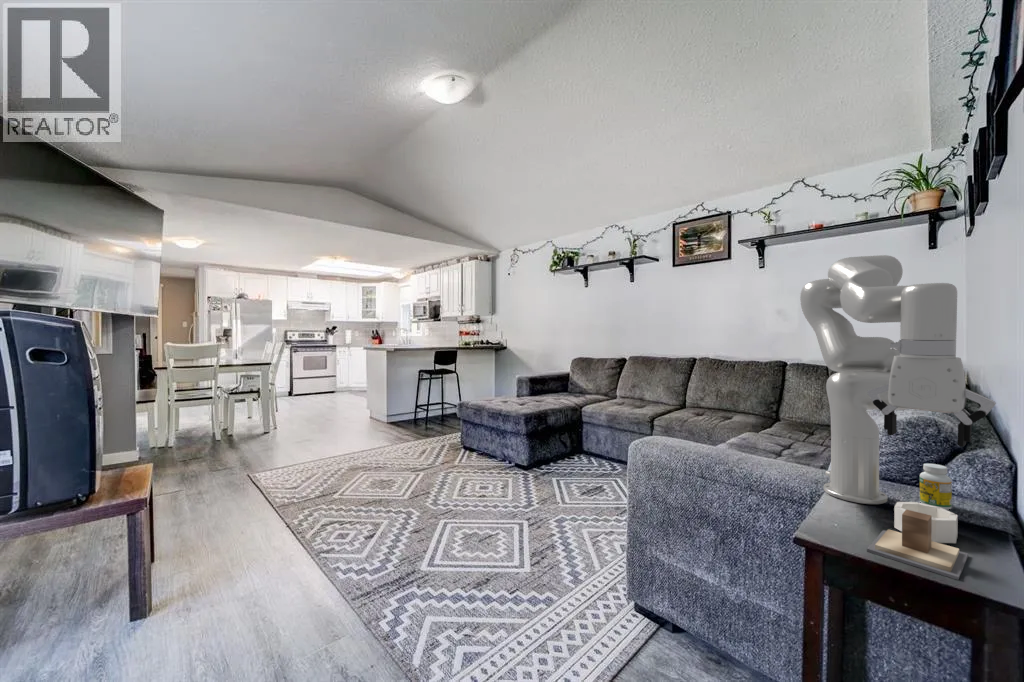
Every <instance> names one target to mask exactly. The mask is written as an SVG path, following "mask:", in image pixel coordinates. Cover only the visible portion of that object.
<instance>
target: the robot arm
mask: <svg viewBox="0 0 1024 682" xmlns="http://www.w3.org/2000/svg"><path fill="white" fill-rule="evenodd" d="M903 271H904V270H903V266H902V263H901V262H900V260H899V259H897V258H896V257H895V256H892V255H887V254H885V255H884V254H882V255H878V254H877V255H863V256H849V257H844V258H840V259H838V260H836V261H835V262H834V263H832V264H831V266H830V267H829V268H828V271H827V278H823V279H822V278H821V279H815V280H812V281H809V282H807V283H806V284H805V285H803V286H802V288H801V291H800V296H799V299H800V307H801V310H802V312H803V313H802V314H803V315H804V317H805V319H806V321H807V322H808V324H809V325H810V326H811V328H812V329H813V331H814V333H815V335H816V336H815V337H816V340H817V342H818V346H819V349H820V352H821V355H822V358H823V361H824V363H825V366H826V367H827V368H828V369H829V370H830V371H832V372H835V373H833V374H831V375H830V376H829V377H828V378H827V379H826V385H825V390H826V395H827V399H828V404H829V413H830V414H829V415H830V439H831V440H830V470H826V471H825V475H826V476H827V477H829V482H825V483H824V484H823V491H824V492H825V493H826V494H828V495H830V496H832V497H834V498H837V499H841V500H844V501H848V502H852V503H858V504H866V505H882V504H885V503H887V502H888V495H887V494H886V493H885V492H884V491H881V490H880V429H879V426H878V424H877V422H876V421H875V420H874V419H873V418H872V417H871V415H870V414H869V413H868V412H867V410H868V411H869V410H878V411H880V412H881V413H882V414H883V429H884V430H886V434H887V435H888V436H893V435H895V434H897V419H898V418H897V413H895V411H904V410H918V411H926V412H935V413H943V414H944V413H945V414H953V415H954V416H955V417H956V418H957V419H958V420H959V421H960V422H959V423H958V424H957V446H959V447H965V446H966V444H967V443H971V442H972V434H973V433H972V431H973V430H972V428H973V427H972V426H973V425H972V424H974V423H977V422H978V421H979V420H981V419H983V418H985V417H986V416H987V415H988V414H989V413H990V412H991V410H992V409H993V408H994V407H995V406H996V405H997V404H996V401H995V400H992V399H990V398H988V397H986V396H983V395H982V394H978V393H977V392H974V391H972V390H969V389H967V388H966V385H967V384H966V377H965V376H966V375H965V369H964V365H963V360H962V358H961V357H960V356H959V357H957V331H958V330H957V325H958V322H957V321H958V320H957V319H958V316H957V315H958V289H957V287H956V285H954V284H953V283H949V282H933V283H932V282H930V283H927V282H926V283H916V284H911V285H898V284H900V282H901V280H902V277H903ZM835 309H842V311H843V312H844V313H845V314H846V315H848V316H849V317H851V318H852V319H853V320H855V321H857V322H860V323H866V324H880V323H900V325H899V327H900V331H899V333H900V334H899V340H898V341H894V340H892V339H890V338H888V337H881V336H860V335H857V334H856V332H855V329H854V326H853V324H852V323H851V321H850V320H849V319H848V318H847V317H845V316H844V315H843V314H841V313H839V312H838V311H837V310H835ZM967 399H968V400H970V401H972V402H975V403H977V404H979V405H980V407H978V409H977V410H976V411H975V412H972V413H970V412H968V411H967V410H966V409H965V407H966V404H967Z"/></svg>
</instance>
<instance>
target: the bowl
mask: <svg viewBox="0 0 1024 682" xmlns="http://www.w3.org/2000/svg"><path fill="white" fill-rule="evenodd" d="M905 510H911V511H915V512H919V513H923V514H927V515H932V534H931V541H933V542H937V543H940V544H957V539H958V530H959V529H958V526H959V525H958V523H959V522H958V521H959V520H958V516H959V515H958V514H956V513H954V512H952V511H950V510H945V509H943V508H940V507H936V506H931V505H927V504H922V503H920V502H917V501H896V503H895V504H894V508H893V511H894V513H893V515H894V516H893V517H894V518H893V519H894V522H893V526H894V529H897V530H899V531H900V532H902V514H903V513H904V511H905Z"/></svg>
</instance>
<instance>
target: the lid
mask: <svg viewBox="0 0 1024 682" xmlns="http://www.w3.org/2000/svg"><path fill="white" fill-rule="evenodd" d="M885 531H886V532H885V534H884V535H883V536H882V537H881V538H880V539H879V541H878V542H877V543H876V544H875V549H877V550H880V551H884V552H887V553H890V554H893V555H897V556H900V557H903V558H906V559H910V560H913V561H916V562H919V563H923V564H926V565H929V566H932V567H936V568H939V569H942V570H945V571H949V572H951V570H952V568H953V566H954V564H955V561H956V559H957V557H958V555H959V551H960V548H958V547H954V546H952V545H951V546H950V545H947V544H945V543H937V542H933V541H931V534H932V515H927V514H923V513H919V512H915V511H911V510H905V511H904V513H903V514H902V531H900V532H899V531H896V530H893V529H892V530H891V529H889V528H888V529H887V530H885Z"/></svg>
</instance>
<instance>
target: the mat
mask: <svg viewBox="0 0 1024 682" xmlns="http://www.w3.org/2000/svg"><path fill="white" fill-rule="evenodd" d="M886 531H887V530H885V529H882V531H881V532H880V533H879V534H878V535H877V536H876V537H875V539H873V541H872V542H871V543H870V544H869V545H868V547H867V548H866V552H869V553H872V554H874V555H878V556H882V557H885V558H887V559H891V560H894V561H896V562H900V563H904V564H906V565H910V566H913V567H915V568H919V569H922V570H925V571H929V572H932V573H935V574H937V575H941V576H944V577H948V578H950V579H954V580H957V581H959V580H960V577H961V575H962V572H963V570H964V569H965V565H966V562H967V560H968V558H969V553H968V552H964V551H960V550H959V555H958V557H957V559H956V561H955V564H954V566H953V568H952V570H951V572H949V571H945V570H942V569H939V568H936V567H932V566H929V565H926V564H923V563H919V562H916V561H913V560H910V559H906V558H903V557H900V556H897V555H893V554H890V553H887V552H884V551H880V550H877V549H875V544H876V543H877V542H878V541H879V539H880V538H881V537H882V536H883V535H884V534H885V532H886Z"/></svg>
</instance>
